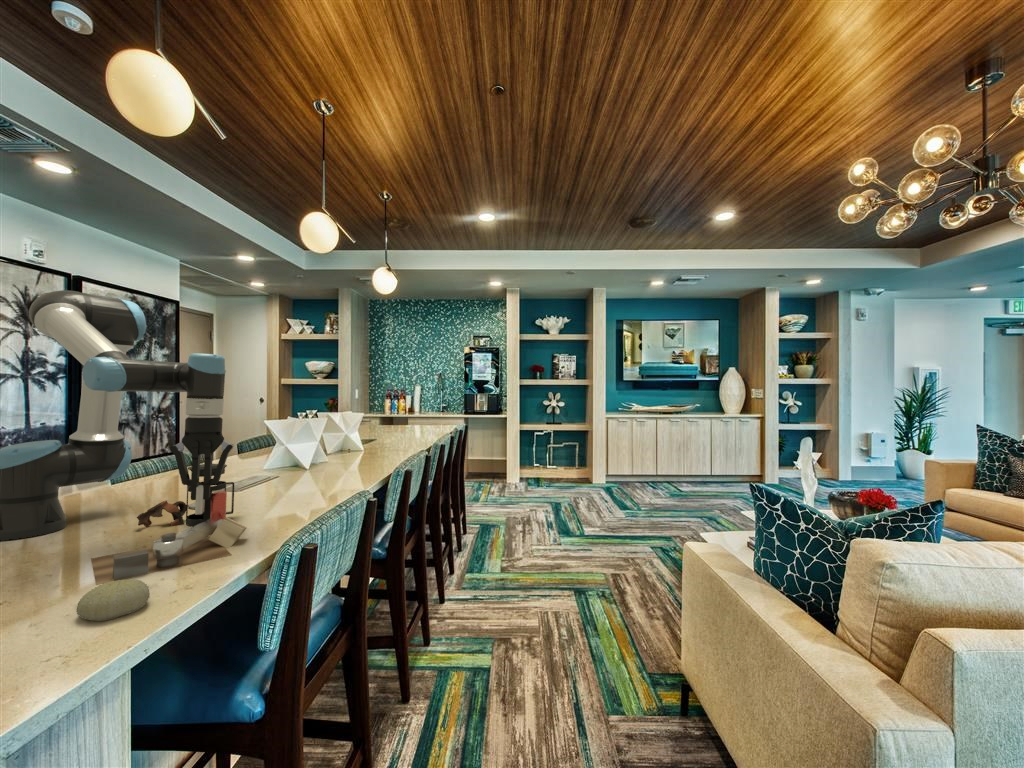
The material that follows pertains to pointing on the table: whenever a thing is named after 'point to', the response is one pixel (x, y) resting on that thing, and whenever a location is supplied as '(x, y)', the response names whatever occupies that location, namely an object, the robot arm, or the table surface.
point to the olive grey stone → (113, 600)
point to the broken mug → (157, 512)
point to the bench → (153, 560)
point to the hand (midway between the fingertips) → (199, 512)
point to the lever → (193, 530)
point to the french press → (199, 518)
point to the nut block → (227, 532)
